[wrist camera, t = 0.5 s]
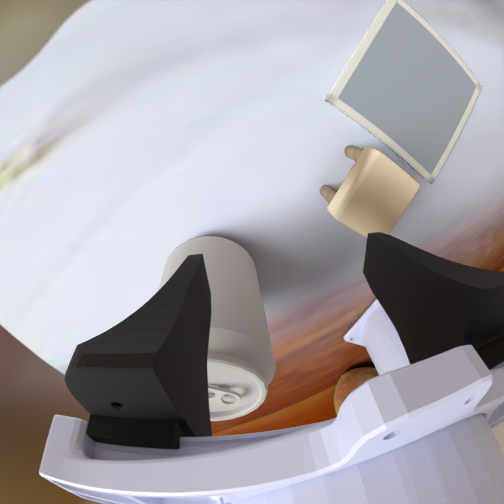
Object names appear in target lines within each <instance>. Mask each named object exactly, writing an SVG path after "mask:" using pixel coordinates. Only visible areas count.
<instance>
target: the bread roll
mask: <svg viewBox="0 0 504 504" xmlns="http://www.w3.org/2000/svg"><path fill="white" fill-rule="evenodd" d="M377 376H379V374H378V372H377V370H376V369H375V368H368V367H361V368H356V369H352V370H350V371H347V372H345V373H344V374H343V375H341V378H340V379H339V380H338V383H337V386H336V389H335V394H334V405H335V410H336V413H337V415H338V412H339V409H340V406H341V405H342V403H343V402H344V401H345V399H346V398H347V397H348V395H349V394H350V393H351V392H352V391H353V390H354V389H356V388H357V387H359V386H360V385H362V384H363V383H364V382H366V381H367V380H370V379H372V378H374V377H377Z"/></svg>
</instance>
